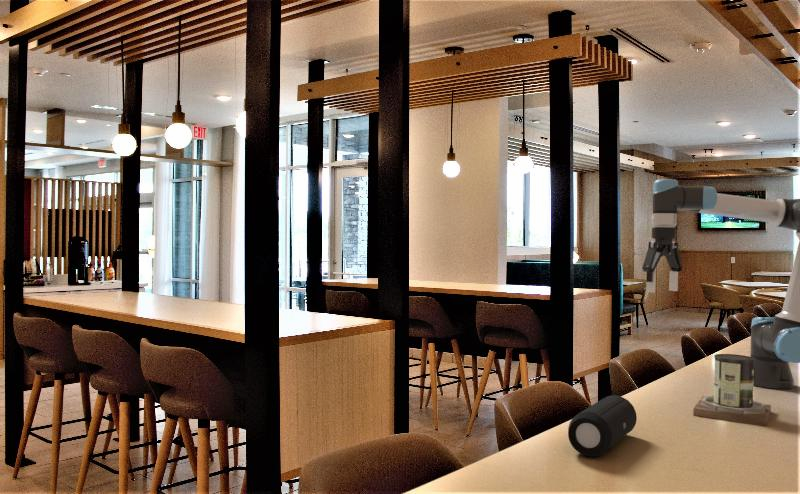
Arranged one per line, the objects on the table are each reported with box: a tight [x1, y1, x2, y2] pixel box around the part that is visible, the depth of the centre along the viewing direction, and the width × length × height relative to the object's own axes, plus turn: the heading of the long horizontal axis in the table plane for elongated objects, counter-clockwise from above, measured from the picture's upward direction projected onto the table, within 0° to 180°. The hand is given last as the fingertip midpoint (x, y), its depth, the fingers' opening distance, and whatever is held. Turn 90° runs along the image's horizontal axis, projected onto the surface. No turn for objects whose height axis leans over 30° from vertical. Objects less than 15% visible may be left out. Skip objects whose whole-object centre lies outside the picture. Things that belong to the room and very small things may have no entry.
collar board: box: [692, 395, 772, 427], centre depth 195 cm, size 18×18×3 cm
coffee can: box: [713, 353, 755, 409], centre depth 195 cm, size 10×10×14 cm
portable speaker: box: [567, 394, 637, 457], centre depth 162 cm, size 26×10×10 cm, turn 147°
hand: (662, 291), depth 226 cm, fingers open, 13 cm apart
